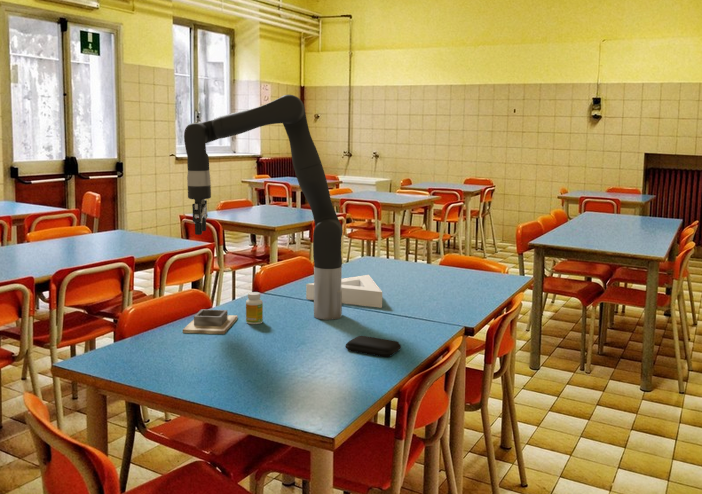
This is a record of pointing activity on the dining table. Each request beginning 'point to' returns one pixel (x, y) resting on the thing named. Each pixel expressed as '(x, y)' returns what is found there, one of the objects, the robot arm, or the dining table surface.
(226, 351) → the dining table surface
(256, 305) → the supplement bottle
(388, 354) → the carrying case or bag
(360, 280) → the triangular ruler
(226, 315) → the caddy
